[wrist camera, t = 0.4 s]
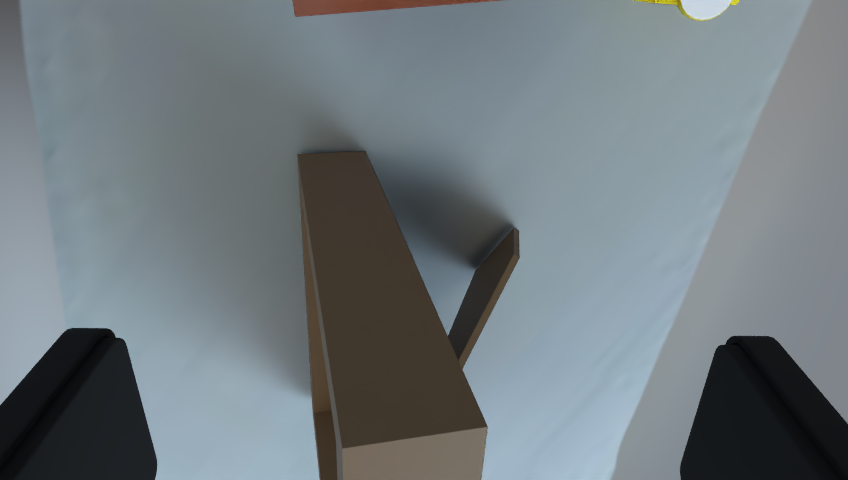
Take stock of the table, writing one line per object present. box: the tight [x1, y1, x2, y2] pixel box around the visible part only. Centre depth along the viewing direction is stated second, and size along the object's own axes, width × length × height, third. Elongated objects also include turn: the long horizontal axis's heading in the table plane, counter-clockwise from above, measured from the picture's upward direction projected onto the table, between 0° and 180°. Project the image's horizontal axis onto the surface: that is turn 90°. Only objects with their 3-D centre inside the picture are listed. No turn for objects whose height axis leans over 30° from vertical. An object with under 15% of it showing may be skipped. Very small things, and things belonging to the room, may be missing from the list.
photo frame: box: [297, 151, 520, 480], centre depth 33 cm, size 15×22×25 cm
